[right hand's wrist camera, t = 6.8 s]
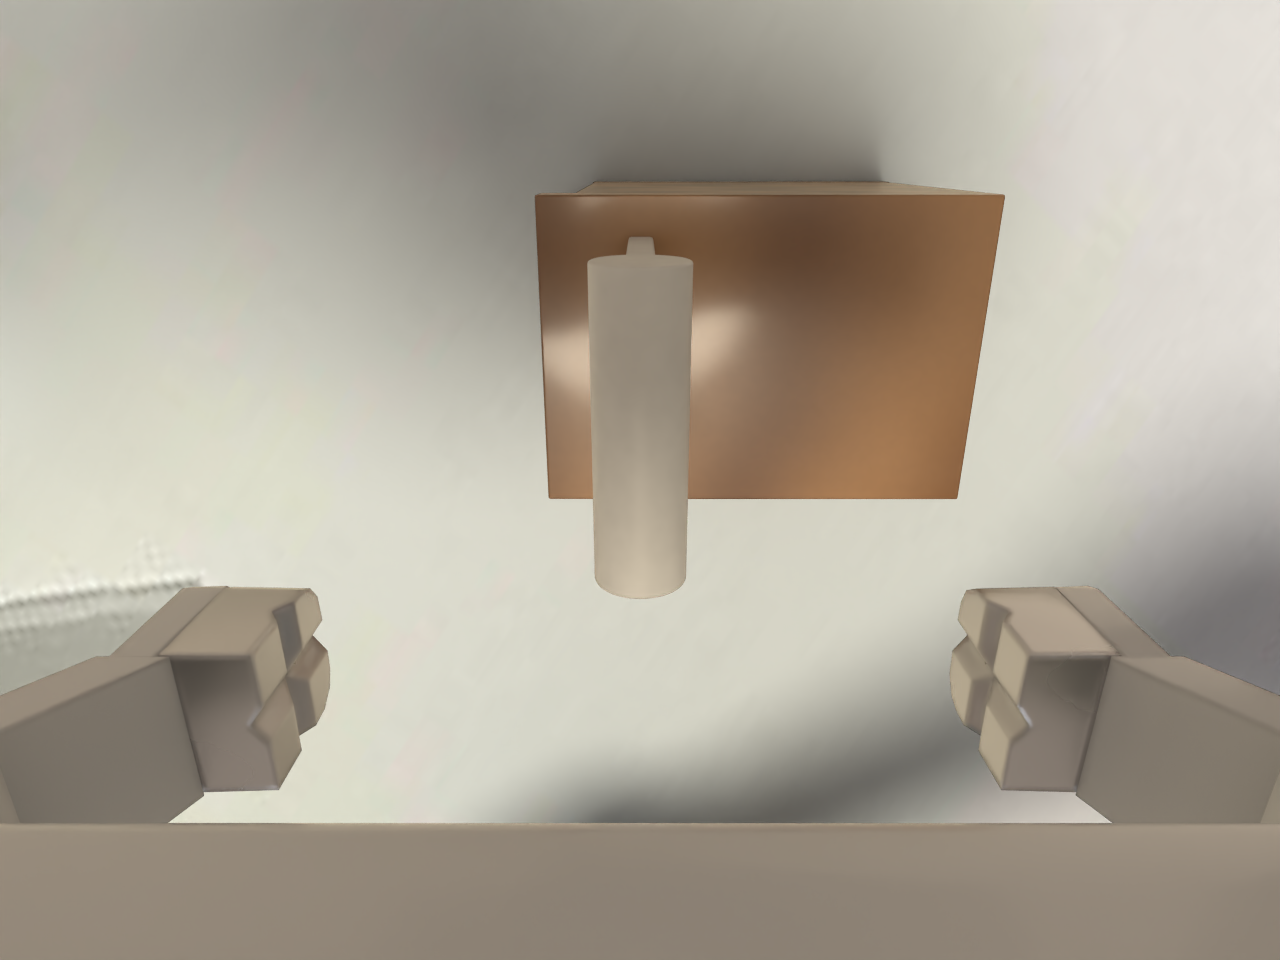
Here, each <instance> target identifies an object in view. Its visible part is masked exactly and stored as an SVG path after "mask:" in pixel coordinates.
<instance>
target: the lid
mask: <svg viewBox="0 0 1280 960" xmlns="http://www.w3.org/2000/svg"><path fill="white" fill-rule="evenodd" d="M1004 199H1005V195H1003V194H993V193H540V194H537V195H535V213H536V235H537V256H538V278H539V299H540V321H541V343H542V364H543V386H544V408H545V429H546V451H547V472H548V494H549V498H550V499H593V518H594V560H595V579H596V582H597V583H598V585H599V586H600V587H601V588H602V589H604V590H605V591H607V592H609V593H611V594H614V595H617V596H620V597H625V598H633V599H648V598H656V597H660V596H664V595H667V594H670V593H672V592H674V591H676V590H677V589H678V588H680V587H681V586H682V585H683V583H684V581H685V579H686V552H687V509H688V499H957V496H958V490H959V484H960V477H961V471H962V465H963V458H964V452H965V446H966V439H967V433H968V427H969V420H970V414H971V408H972V401H973V395H974V389H975V382H976V376H977V370H978V363H979V357H980V351H981V344H982V338H983V332H984V325H985V319H986V313H987V306H988V300H989V294H990V287H991V281H992V275H993V268H994V262H995V256H996V249H997V243H998V237H999V230H1000V224H1001V218H1002V212H1003V205H1004Z"/></svg>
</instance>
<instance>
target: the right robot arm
mask: <svg viewBox="0 0 1280 960" xmlns="http://www.w3.org/2000/svg"><path fill="white" fill-rule="evenodd" d="M321 621H322V616H321V611H320V607H319V602H318V597H317V596H316V594H315V593H314V592H313V591H312V590H311V589H310V588H263V587H228V586H211V587H189V588H183V589H181V590H180V591H179V592H178V593H177V594H176V595H175V596H174V597H173V598H172V599H171V600H170V601H169V602H167V603H166V604H165V605H164V606H163V607H162V608H161V609H160V610H159V611H158V612H157V613H156V614H154V615H153V616H152V617H151V618H150V619H149V620H148V621H147V622H146V623H145V624H144V625H143V626H142V627H140V628H139V629H138V630H137V631H136V632H135V633H134V634H133V635H132V636H131V637H130V638H129V639H128V640H126V641H125V642H124V643H123V644H122V645H121V646H120V647H119V648H118V649H117V650H116V651H115V652H114V653H112V654H111V655H110V656H96V657H93V658H91V659H88V660H86V661H84V662H81V663H79V664H76V665H74V666H71V667H69V668H66V669H64V670H62V671H59V672H57V673H54V674H52V675H49V676H47V677H44V678H42V679H40V680H37V681H35V682H32V683H30V684H27V685H25V686H22V687H20V688H18V689H15V690H13V691H10V692H8V693H5V694H3V695H0V960H1280V696H1279V695H1277V694H1274V693H1272V692H1270V691H1267V690H1265V689H1262V688H1260V687H1257V686H1255V685H1253V684H1250V683H1248V682H1245V681H1243V680H1240V679H1238V678H1235V677H1233V676H1231V675H1228V674H1226V673H1223V672H1221V671H1218V670H1216V669H1213V668H1211V667H1209V666H1206V665H1204V664H1201V663H1199V662H1196V661H1194V660H1192V659H1189V658H1187V657H1184V656H1170V655H1169V654H1168V653H1167V652H1165V651H1164V650H1163V649H1162V648H1161V647H1160V646H1159V645H1158V644H1157V643H1156V642H1155V641H1154V640H1153V639H1152V638H1150V637H1149V636H1148V635H1147V634H1146V633H1145V632H1144V631H1143V630H1142V629H1141V628H1140V627H1139V626H1138V625H1136V624H1135V623H1134V622H1133V621H1132V620H1131V619H1130V618H1129V617H1128V616H1127V615H1126V614H1125V613H1124V612H1122V611H1121V610H1120V609H1119V608H1118V607H1117V606H1116V605H1115V604H1114V603H1113V602H1112V601H1111V600H1110V599H1109V598H1107V597H1106V596H1105V595H1104V594H1103V593H1102V592H1101V591H1100V590H1099V589H1096V588H1093V587H1090V586H1074V587H1027V588H985V589H971V590H966V592H965V595H964V597H963V599H962V601H961V605H960V610H959V616H958V621H959V623H960V624H961V626H962V627H963V629H964V630H965V632H966V634H967V636H966V637H965V638H964V639H963V640H962V641H961V642H960V643H959V644H958V646H957V647H956V648H955V649H954V650H953V651H952V659H951V666H950V685H951V696H952V699H953V702H954V705H955V709H956V711H957V713H958V715H959V717H960V719H961V721H962V722H963V724H964V725H965V726H966V727H968V728H969V729H971V730H973V731H974V732H976V733H977V734H979V735H981V738H980V743H979V749H978V751H979V752H980V754H981V756H982V758H983V759H984V761H985V763H986V764H987V766H988V768H989V770H990V771H991V773H992V775H993V776H994V778H995V780H996V782H997V783H998V785H999V787H1000V788H1001V790H1018V791H1055V792H1076V796H1077V797H1079V798H1080V799H1081V800H1083V801H1084V802H1085V803H1087V804H1088V805H1089V806H1091V807H1092V808H1093V809H1095V810H1096V811H1097V812H1099V813H1100V814H1101V815H1103V816H1104V817H1105V818H1107V819H1108V820H1109V821H1111V822H1112V823H168V822H170V821H171V820H172V819H174V818H175V817H176V816H178V815H179V814H180V813H182V812H183V811H184V810H186V809H187V808H188V807H190V806H191V805H192V804H194V803H195V802H196V801H198V800H199V799H200V798H202V797H203V796H204V792H224V791H260V790H279V789H280V787H281V785H282V783H283V782H284V780H285V778H286V777H287V775H288V773H289V771H290V770H291V768H292V766H293V764H294V763H295V761H296V759H297V758H298V756H299V754H300V752H301V751H302V749H301V743H300V738H299V736H300V735H301V734H303V733H304V732H306V731H307V730H309V729H311V728H312V727H314V726H315V725H316V724H317V722H318V721H319V719H320V717H321V715H322V713H323V711H324V709H325V706H326V701H327V697H328V693H329V689H330V664H329V657H328V651H327V650H326V649H325V648H324V647H323V646H322V644H321V643H320V642H319V641H318V640H317V639H316V638H315V637H314V636H313V634H314V632H315V630H316V629H317V627H318V626H319V624H320V623H321Z"/></svg>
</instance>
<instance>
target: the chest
mask: <svg viewBox="0 0 1280 960" xmlns="http://www.w3.org/2000/svg"><path fill="white" fill-rule="evenodd" d="M577 193H983V192H974V191H964V190H955V189H945V188H936V187H927V186H917V185H908V184H898V183H889V182H883V181H749V182H593V184H591V185H589V186H588V187H586V188H584V189H582V190H580V191H579V192H577Z"/></svg>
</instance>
